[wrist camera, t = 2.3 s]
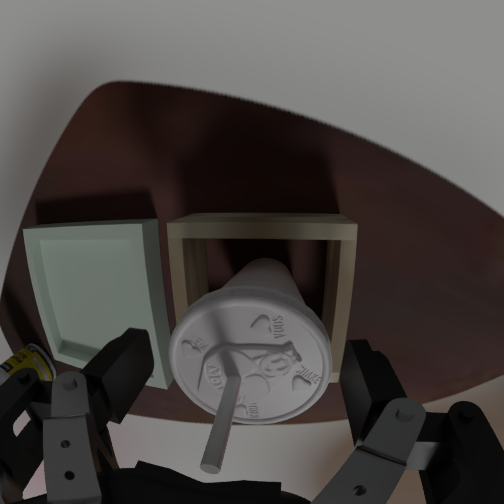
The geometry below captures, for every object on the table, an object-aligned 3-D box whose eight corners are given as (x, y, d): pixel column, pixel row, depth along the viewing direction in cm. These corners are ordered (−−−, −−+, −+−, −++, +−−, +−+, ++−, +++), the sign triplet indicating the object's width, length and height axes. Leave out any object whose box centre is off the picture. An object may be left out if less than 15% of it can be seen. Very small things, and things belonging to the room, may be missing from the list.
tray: (157, 218, 19) (141, 223, 17) (177, 372, 22) (167, 389, 20) (40, 224, 20) (23, 229, 18) (67, 348, 23) (54, 359, 21)
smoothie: (202, 266, 19) (74, 405, 6) (283, 219, 18) (279, 331, 4) (249, 338, 20) (205, 512, 7) (328, 300, 19) (379, 480, 5)
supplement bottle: (40, 338, 24) (-14, 380, 15) (64, 377, 25) (17, 425, 16) (23, 344, 25) (-25, 381, 16) (44, 379, 26) (2, 420, 17)
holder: (340, 214, 17) (357, 224, 13) (329, 344, 20) (337, 382, 15) (193, 213, 18) (166, 222, 14) (202, 339, 21) (184, 374, 16)
